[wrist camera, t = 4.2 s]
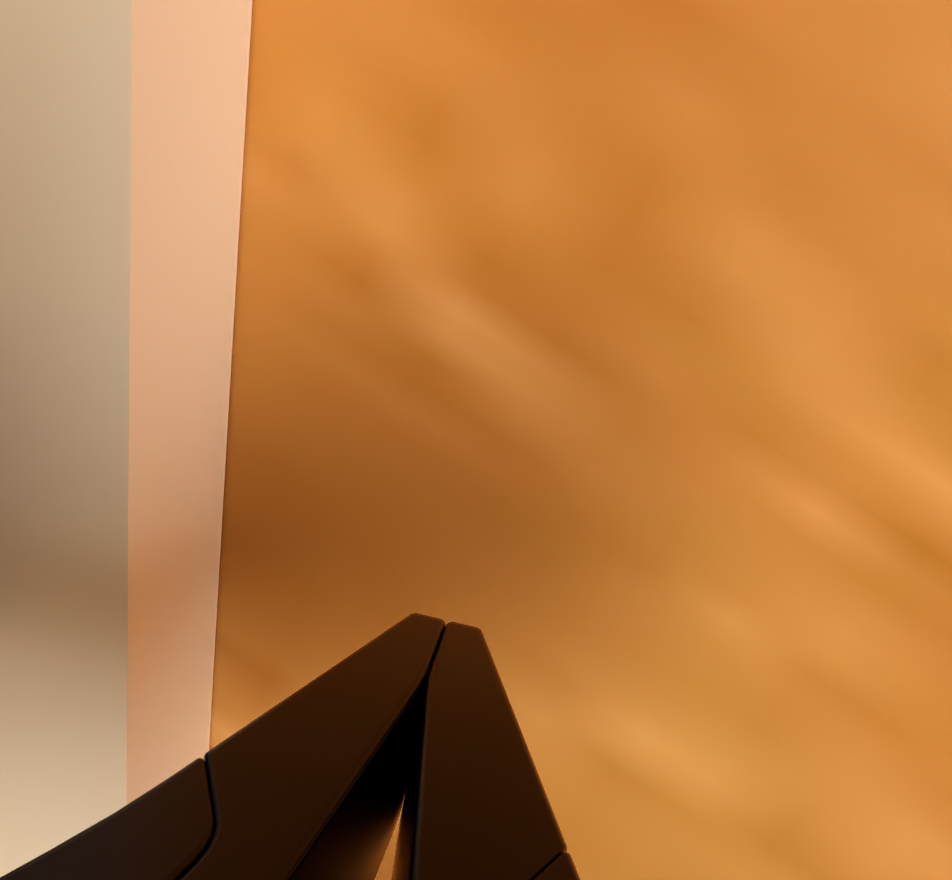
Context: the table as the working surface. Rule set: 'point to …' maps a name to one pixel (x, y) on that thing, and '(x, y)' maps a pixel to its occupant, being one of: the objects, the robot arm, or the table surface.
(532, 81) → the table surface
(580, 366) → the table surface
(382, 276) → the table surface
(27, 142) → the trap deck
